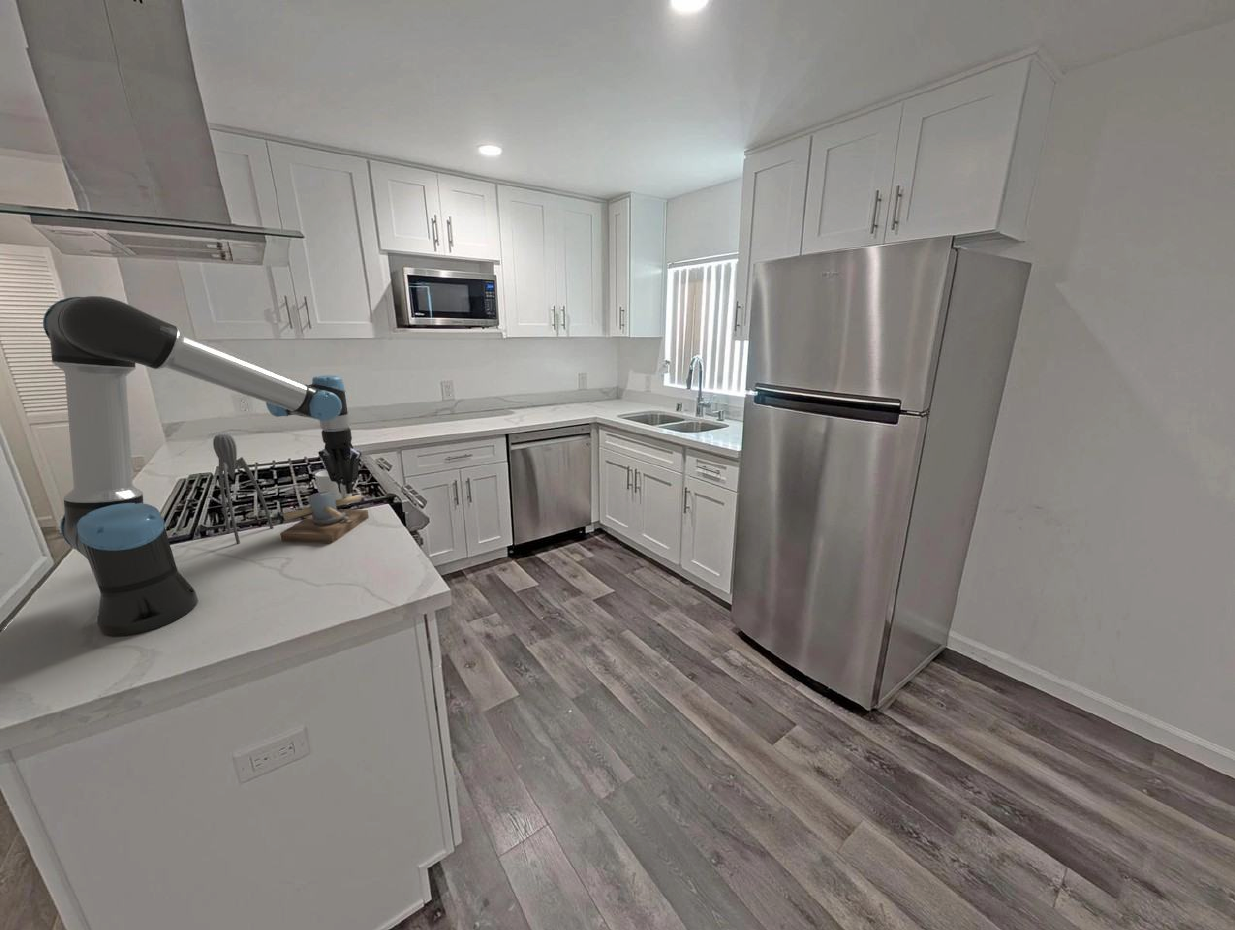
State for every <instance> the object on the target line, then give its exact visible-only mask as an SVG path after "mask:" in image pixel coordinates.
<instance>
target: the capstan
mask: <svg viewBox="0 0 1235 930" xmlns="http://www.w3.org/2000/svg"><path fill="white" fill-rule="evenodd" d="M362 499H363V498H362V495H361V494H355V495H352V496H351V497H347V498H344V499H340V500H336V501H335V497H334V493H333V492H332V491H331V492H320V493H319V492H316V493H313V494H311V495H309V496H308V497H307V498H306V501H307V502H308V503H309V507H306V508H302V509H298V510H296V511H291V512H288V513H284V514H282V515H283V516H282V517H283V519H284V520H285V521H289V520H293V519H296V518H301V517H304V516H308V515H312V519H313V523H314V524H317V525H327V524H332V523H336V522H339V521H341V520H343V518H344V517H345V516H346V515H345V511H344V510H345V509H341V510H339V509H338V508H337V507H340V506H344V504H348V503H350V504H352V503H356V502H359V501H361V500H362ZM348 505H349V504H348Z"/></svg>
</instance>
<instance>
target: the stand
mask: <svg viewBox="0 0 1235 930" xmlns="http://www.w3.org/2000/svg"><path fill="white" fill-rule="evenodd" d="M339 510H342V508H341V509H339ZM343 510H344V511H345V515H346V516H345V517H344V518H343V520H341V521H339V522H336V523H332V524H327V525H317V524H314V523H313V519H312V514H310V515H309V516H307V517H306V518H304V519H302V520H300V521H299V522H297V523H295V524H293V525H292V526H290V527H288V528H287V529H285V530H283V531H282V532H280V533H279V536H280V540H281V542H285V543H286V542H287V543H288V542H291V543H293V542H294V543H318V544H319V543H323V544H325V543H327V544H333V543H335V542H336V541H338V540H340V539H341V538H342V537H344V535H346V534H347V533H349V532H350V531H352V530H353V529H354V528H356V527H357V526H359V525H360V524H362V523H363V522H364V521H365V522H366V520H367V519H369V511H368V509H343Z"/></svg>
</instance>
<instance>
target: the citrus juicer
mask: <svg viewBox="0 0 1235 930" xmlns="http://www.w3.org/2000/svg"><path fill="white" fill-rule="evenodd" d="M212 444H213V450H214V452H215V455H216V457H217V458H218V459H217V460H218V477H219V478H218V480H219V488H220V489H219V490H220V497H221V505H222V510H223V516H224V522H225V526H226V530H227V533H228V534H231V533H232V530H231V525H230V520H229V515H228V509H229V514H230V519H231V523H232V529H233V533H234V538H235V542H236V545H239V544H241V541H240V535H239V532H238V527H237V523H236V518H235V513H234V512H235V511H234V509H233V502H232V497H231V492H230V491H231V490H230V485H229V484H230V483H229V478H228V477H229V476H230V478H231V479H232V480H233V481H234V480H235V474H236V468H238V467H240V466H241V467H242V468H243V470H244V471H245V472H246V474H247V476H248V477H249V479H250V481H251V483H252V485H253V487H254V488H255V491H256V493H257V495H258V498H259V500H260V503H261V505H262V507H263V509H264V513H265V517H266V518H267V522H268V526H269V528H270V529H274V525H273V520H272V517H271V513H270V511H269V509H268V506H267V503H266V500H265V498H264V495H263V493H262V490H261V489H260V487H259V484H258V483H257V480H256V479H255V477H254V475H253V472H252V470H251V469H250V467H249V466H248V464H247V462H246V460H245V459H244V457H243V456H241V457H240V458H238V457H237V456H238V449H237V444H236V441H235V439H234V437H233V436H232V435H231V434H228V433H219V434H217V435H215V436H214V438H213V441H212ZM237 458H238V459H237ZM228 475H229V476H228ZM224 483H225V484H224ZM224 485H225V486H224ZM224 487H225V488H224ZM225 490H226V491H225ZM225 492H226V496H225ZM226 497H227V503H228V509H227V504H226Z"/></svg>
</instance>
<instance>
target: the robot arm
mask: <svg viewBox="0 0 1235 930" xmlns="http://www.w3.org/2000/svg"><path fill="white" fill-rule="evenodd" d="M42 327H43V330H44V332H45V335H46V336H47V338H48V339H49V341H50V353H51V354H50V355H51V363H52V364H53V365H54V366H56V367H57V368H59V369H61V370H62V372H63V373H64V379H65V380H64V381H65V393H66V395H65V396H66V404H67V405H66V406H67V417H68V418H67V419H68V430H69V431H68V432H69V433H68V434H69V441H70V442H69V443H70V445H69V446H70V456H71V468H72V470H71V471H72V480H73V489H72V490H71V491H69V492H68V493H67V494H66V495H64V496H63V506H64V507H63V509H64V514H63V515H62V518H61V520H60V533H61V536H62V538H63V540H64V541H65V542H66V543H67V544H68V545H69V546H70V547H71V548H73V549H74V550H76V551H77V552H78V553H80V555H82V556H83V557H85V559H87V561H88V563H89V565H90V569H91V570H92V573H93V577H94V578H95V582H96V585H97V587H98V589H99V593H100V596H99V605H98V615H97V619H96V623H97V626H98V628H99V629H98V630H99V632H100V633H101V634H102V635H104V636H109V637H123V636H131V635H132V636H133V635H136V634H140V633H144V632H149V631H151V630H152V631H153V630H154V629H157V628H158V629H159V628H160V627H163V626H165V625H168V624H169V623H172V622H174V621H176V620H178V619H180V618H182V617H184V616H185V615H187V614H188V613H190V612H191V611H192V610H194V608H195V607H197V604H198V601H199V600H198V596H197V593H196V589H194V587H192V586H191V585H190V583H189V582H188V581H187V580H186V579H185V578H184V576H183V575H182V574H181V573H180V572H179V570H178V567H177V564H176V559H175V557H174V554H173V550H172V548H171V547H172V546H171V544H170V543H171V542H170V541H169V538H168V537H169V536H168V534H167V530H166V527H165V524H166V523H165V520H164V518H163V516H162V515H161V512H160V511H159V509H158V508H157V507H156V506H153V505H151V504H148V503H145V502H144V492H143V491H142V490H141V489H139V488H137V487H136V486H135V485H134V484H133V468H132V455H131V454H132V453H131V452H132V451H131V438H130V436H131V435H130V434H131V433H130V421H129V406H128V403H129V402H128V388H127V376H128V375H129V374H130V373H131V372H133V371H134V370H136V364H137V365H138V364H139V365H142V366H145V367H149V368H151V369H154V370H161V369H164V368H166V369H169V370H172V371H175V372H178V373H180V374H181V373H182V374H184V375H187V376H190V377H193V378H196V379H198V380H201V381H205V382H208V383H210V384H214V385H216V386H219V387H221V388H224V389H228V390H230V391H233V392H236V393H238V394H242V395H244V396H247V397H251V398H254V399H256V400H260V401H262V402H265V404H266V408H267V410H268V411H269V413H270V414H271V415H272V416H274V417H288V416H298V417H304V418H310V419H315V420H318V421H319V427H320V429H321V438H322V442H323V443H324V448H323V449H322V450H320V451H318V452H317V454H318V455H319V457H320V458H321V460H322V461H323V465H324V468H325V470H327V472H328V475H329V477H330V480H331V481H332V482H336V483H337V484H338V488H339V492H340V493H341V495H342V499H344V498H347V497H351V496H353V493H354V490H353V487H354V486H353V483H354V482H356V480H357V479H358V477H359V466H360V458H361V456H362V452H361V451H357V450H355V449H354V446H353V444H352V439H353V436H352V432H351V431H352V429H351V428H350V426H351V424H350V419H349V411H348V406H347V405H348V404H347V399H346V397H347V396H346V393H345V392H346V390H345V386H344V382H343V378H342V377H341V376H339V375H317V376H316V375H315V376H313V377H312V381H311V383H312V384H306V383H303V382H301V381H299V380H297V379H294V378H291V377H290V376H286V375H284V374H281V373H279V372H277V371H274V370H272V369H269V368H267V367H264V366H263V365H260V364H257V363H254V362H251V361H249V360H248V359H244V358H242V357H239V356H237V355H235V354H232V353H230V352H227V351H224V350H222V349H220V348H217V347H214V346H212V345H209V344H207V343H205V342H203V341H200V340H197V339H195V338H193V337H190V336H188V335H185V334H183V333H182V332H181V331H180V328H179V327H178V326H177V325H173V324H172V323H169V322H166V321H164V320H162V319H159V318H157V317H155V316H153V315H151V314H150V313H146V312H145V311H142V310H140V309H139V308H136V307H134V306H132V305H129V304H128V303H125V302H122V301H121V300H119V299H114V298H111V297H108V296H99V295H98V296H97V295H96V296H95V295H90V296H89V295H88V296H73V297H72V296H70V297H67V298H63V299H60V300H58V301H57V302H54V303H53V304H52V305H51V306H50V307H49V308H48V309H47V310H46V312H45V313H44V315H43V320H42ZM334 476H335V477H334ZM358 480H359V479H358ZM349 504H351V503H348V504H344V505H345V506H348V505H349ZM344 505H343V506H344Z"/></svg>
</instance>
